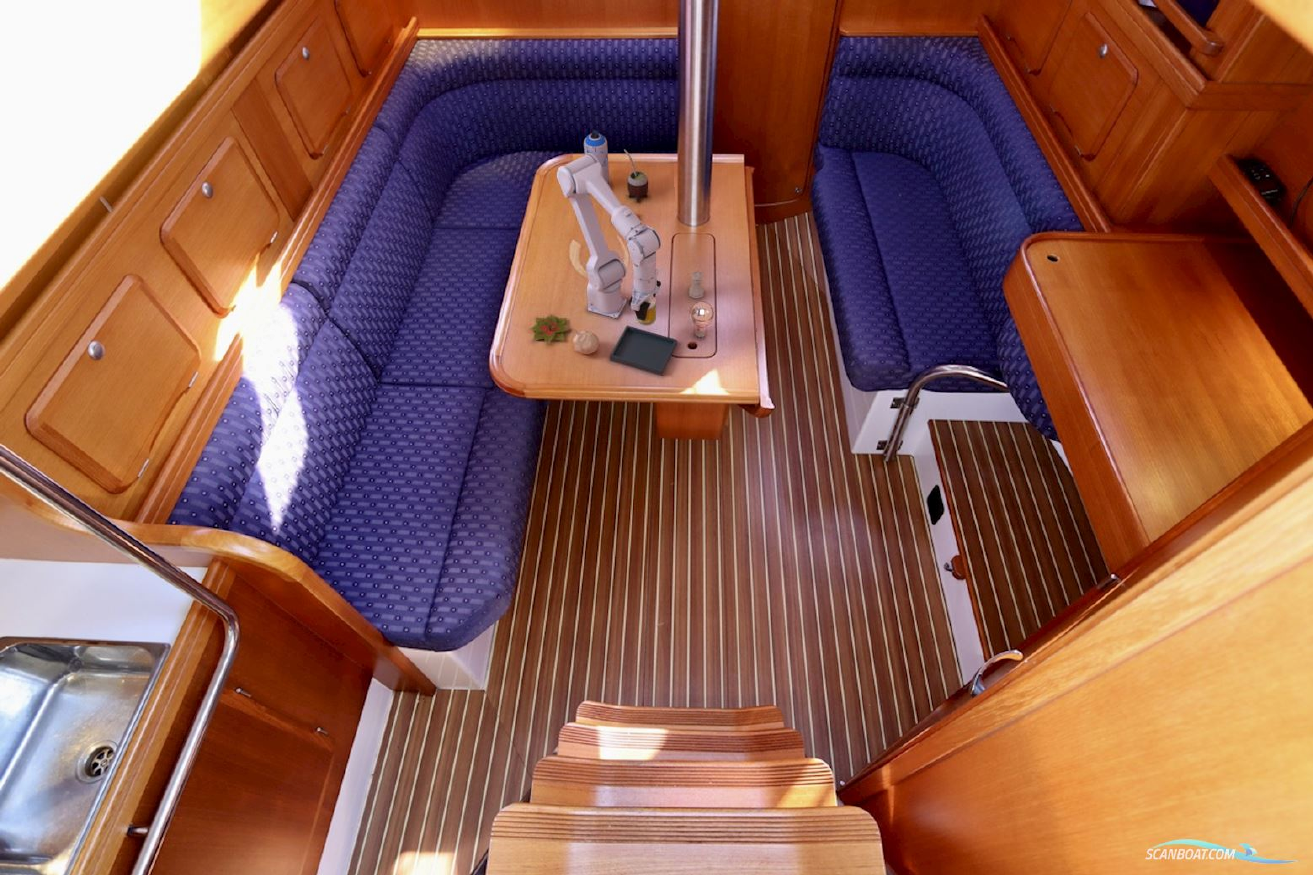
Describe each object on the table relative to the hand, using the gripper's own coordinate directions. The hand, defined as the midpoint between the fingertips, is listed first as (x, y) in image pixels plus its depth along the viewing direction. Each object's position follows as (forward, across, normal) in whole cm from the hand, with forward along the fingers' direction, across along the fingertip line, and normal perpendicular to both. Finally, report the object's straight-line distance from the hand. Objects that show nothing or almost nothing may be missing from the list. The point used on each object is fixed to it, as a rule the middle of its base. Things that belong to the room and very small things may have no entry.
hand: (645, 311), depth 175 cm
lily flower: (+10, -7, +26) cm, 29 cm away
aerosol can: (+10, +59, +40) cm, 72 cm away
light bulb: (+10, +6, -14) cm, 18 cm away
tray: (+10, -6, -2) cm, 12 cm away
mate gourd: (+10, +59, +26) cm, 65 cm away
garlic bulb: (+10, -10, +13) cm, 20 cm away
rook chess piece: (+10, +21, -8) cm, 25 cm away
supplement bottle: (+3, 0, 0) cm, 3 cm away
